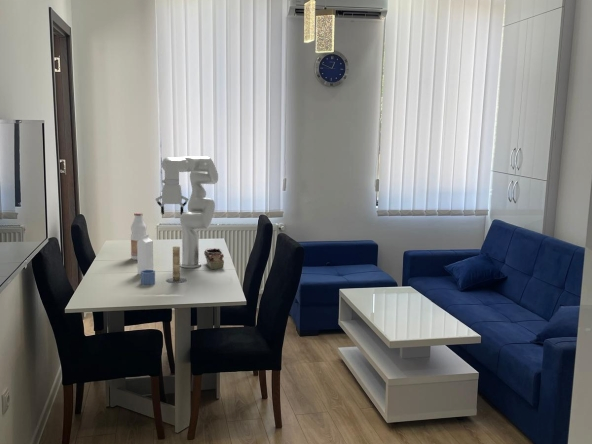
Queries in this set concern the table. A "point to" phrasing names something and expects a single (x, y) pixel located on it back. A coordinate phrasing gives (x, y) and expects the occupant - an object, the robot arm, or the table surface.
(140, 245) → the milk
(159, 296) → the table surface
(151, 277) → the cup
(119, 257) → the table surface
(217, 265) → the decorative box
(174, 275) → the wooden pestle
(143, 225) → the fruit juice
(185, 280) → the coaster
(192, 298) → the table surface
